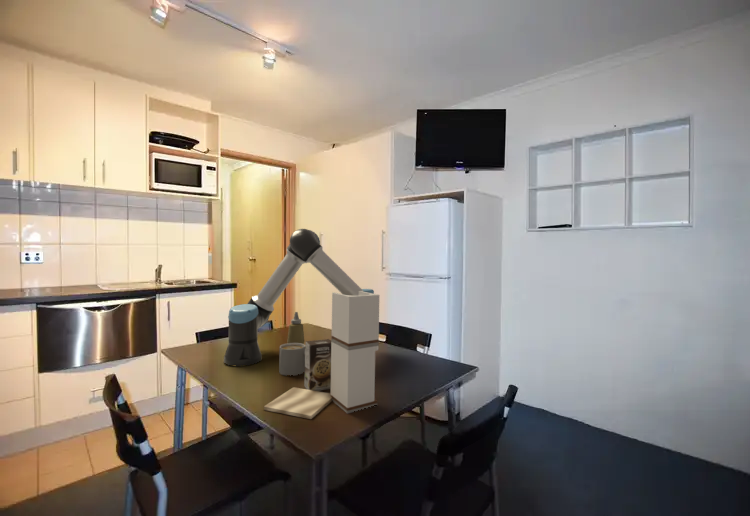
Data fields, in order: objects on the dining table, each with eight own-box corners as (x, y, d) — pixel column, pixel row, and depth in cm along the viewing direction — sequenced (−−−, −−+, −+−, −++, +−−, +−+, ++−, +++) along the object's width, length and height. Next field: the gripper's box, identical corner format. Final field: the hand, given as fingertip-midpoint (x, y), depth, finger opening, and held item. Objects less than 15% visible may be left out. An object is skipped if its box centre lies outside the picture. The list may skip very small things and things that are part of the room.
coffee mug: (273, 373, 136) (274, 347, 135) (288, 365, 145) (288, 341, 145) (304, 378, 131) (304, 351, 131) (317, 370, 140) (317, 345, 140)
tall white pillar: (377, 406, 109) (379, 294, 109) (347, 414, 104) (349, 296, 103) (358, 393, 119) (360, 291, 118) (330, 400, 113) (332, 292, 112)
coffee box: (309, 392, 118) (310, 345, 118) (303, 386, 124) (304, 340, 123) (334, 388, 122) (335, 342, 122) (328, 382, 128) (329, 338, 127)
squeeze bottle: (284, 351, 166) (284, 313, 165) (291, 346, 174) (291, 310, 173) (300, 352, 164) (301, 314, 164) (306, 347, 172) (307, 311, 172)
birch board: (263, 409, 105) (263, 406, 105) (293, 390, 120) (293, 387, 120) (311, 419, 100) (311, 415, 100) (335, 397, 115) (335, 394, 115)
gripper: (372, 336, 153) (350, 350, 131) (344, 333, 158) (319, 347, 135) (372, 319, 153) (350, 330, 131) (344, 317, 157) (319, 328, 135)
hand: (335, 339), depth 133 cm, fingers closed
